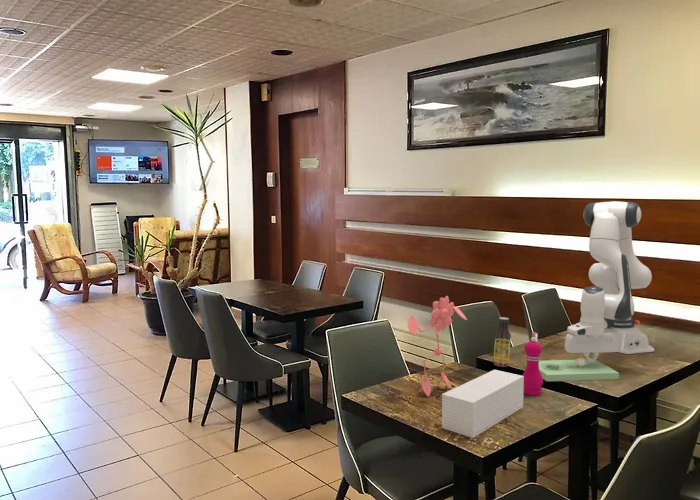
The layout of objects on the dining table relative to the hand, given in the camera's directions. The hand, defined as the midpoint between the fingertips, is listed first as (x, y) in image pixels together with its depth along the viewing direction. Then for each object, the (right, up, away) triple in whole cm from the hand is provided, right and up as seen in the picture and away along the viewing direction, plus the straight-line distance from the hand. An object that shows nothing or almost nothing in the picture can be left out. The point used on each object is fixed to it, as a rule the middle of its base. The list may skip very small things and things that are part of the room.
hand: (590, 363), depth 221 cm
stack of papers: (-52, -9, -43) cm, 68 cm away
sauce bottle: (-32, -3, +11) cm, 34 cm away
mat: (-7, -4, 0) cm, 8 cm away
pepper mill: (-30, -6, -21) cm, 37 cm away
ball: (-4, 0, 0) cm, 4 cm away
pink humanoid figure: (-62, -7, -22) cm, 66 cm away
